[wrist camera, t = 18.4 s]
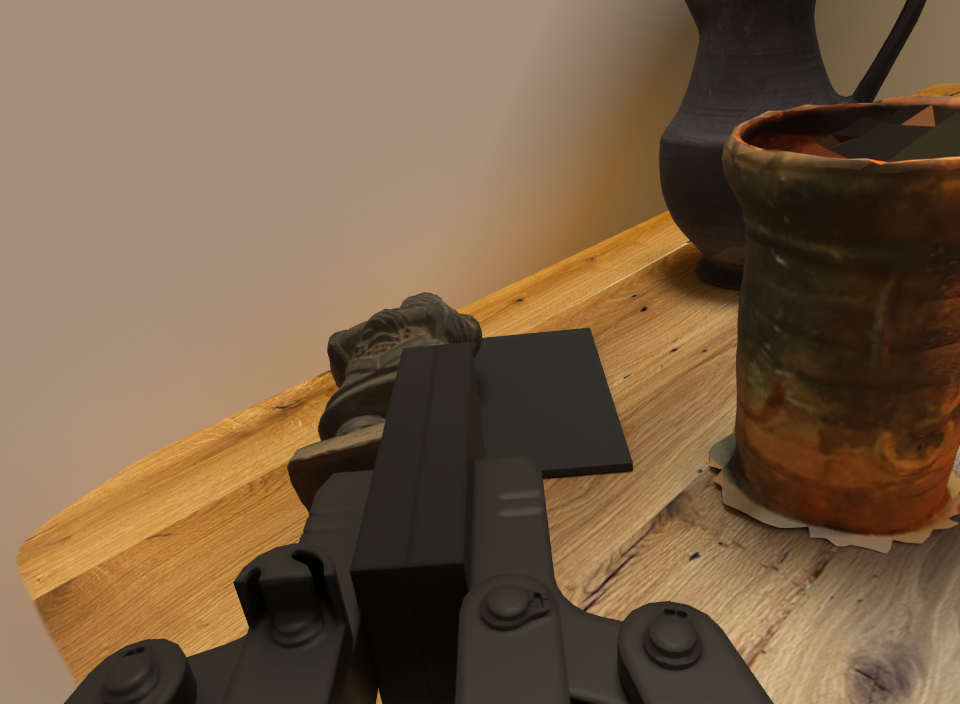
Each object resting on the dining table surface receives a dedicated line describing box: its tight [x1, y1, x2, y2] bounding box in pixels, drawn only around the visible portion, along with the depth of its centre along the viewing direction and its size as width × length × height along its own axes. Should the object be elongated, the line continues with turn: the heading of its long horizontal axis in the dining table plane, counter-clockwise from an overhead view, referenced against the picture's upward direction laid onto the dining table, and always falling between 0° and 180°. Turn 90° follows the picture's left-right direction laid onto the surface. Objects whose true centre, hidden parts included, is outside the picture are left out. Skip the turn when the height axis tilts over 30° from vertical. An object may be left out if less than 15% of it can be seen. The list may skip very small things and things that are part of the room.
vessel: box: [708, 96, 960, 554], centre depth 36 cm, size 14×14×20 cm
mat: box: [474, 328, 633, 478], centre depth 52 cm, size 20×14×1 cm
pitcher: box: [659, 0, 926, 289], centre depth 62 cm, size 17×21×30 cm
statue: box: [287, 292, 482, 512], centre depth 48 cm, size 11×9×30 cm
